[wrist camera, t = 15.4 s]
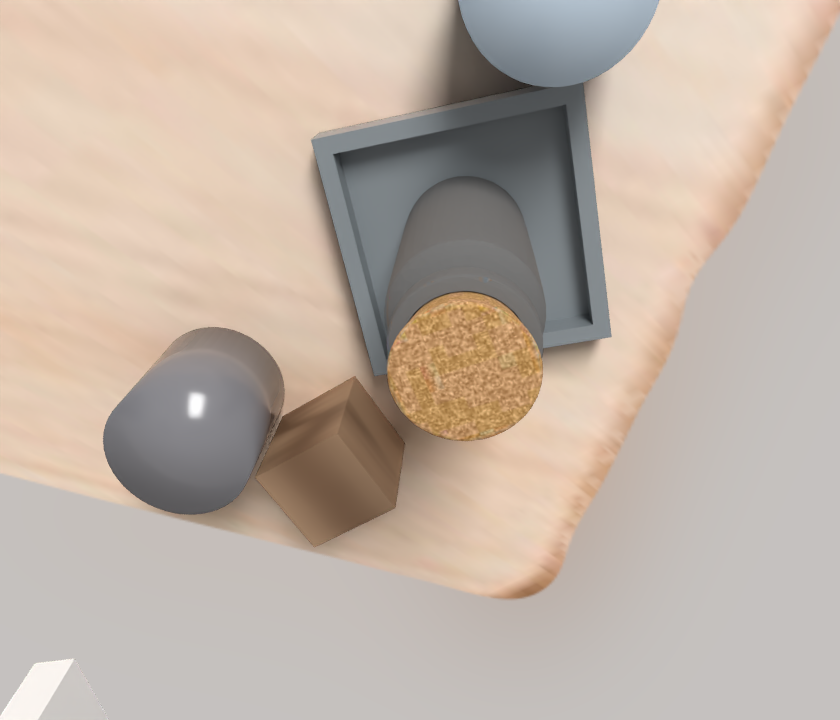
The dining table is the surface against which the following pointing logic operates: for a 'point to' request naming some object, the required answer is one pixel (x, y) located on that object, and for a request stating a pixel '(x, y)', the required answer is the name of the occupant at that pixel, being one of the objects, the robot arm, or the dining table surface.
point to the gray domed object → (196, 422)
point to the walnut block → (333, 463)
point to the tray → (480, 157)
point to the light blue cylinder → (556, 36)
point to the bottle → (465, 313)
